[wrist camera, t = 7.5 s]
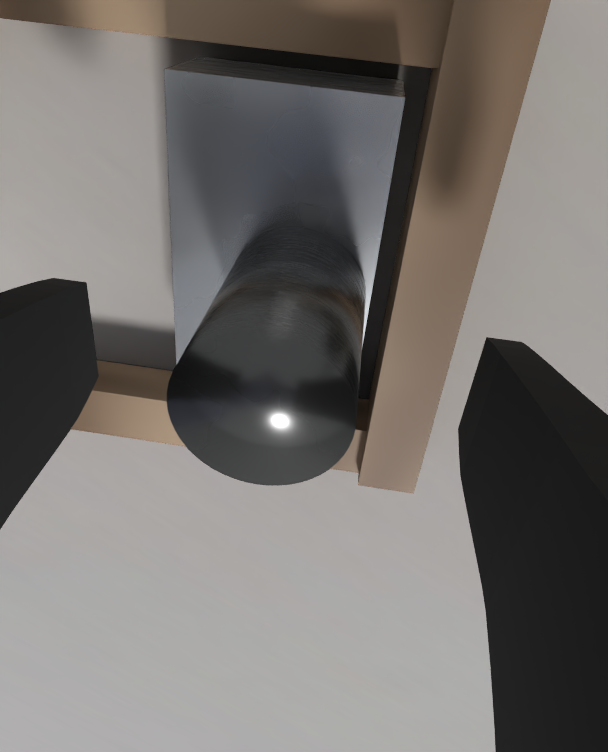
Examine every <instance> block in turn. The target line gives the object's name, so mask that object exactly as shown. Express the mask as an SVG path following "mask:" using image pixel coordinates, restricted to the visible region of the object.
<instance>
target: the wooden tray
mask: <svg viewBox="0 0 608 752" xmlns="http://www.w3.org/2000/svg"><path fill="white" fill-rule="evenodd" d="M550 1H551V0H0V18H4V19H12V20H21V21H30V22H38V23H47V24H56V25H64V26H73V27H81V28H90V29H99V30H107V31H116V32H125V33H133V34H142V35H151V36H159V37H168V38H177V39H185V40H194V41H203V42H211V43H220V44H228V45H237V46H246V47H254V48H263V49H272V50H280V51H289V52H298V53H306V54H315V55H324V56H332V57H341V58H350V59H358V60H367V61H375V62H384V63H393V64H401V65H410V66H419V67H427V68H432V71H431V76H430V81H429V86H428V91H427V97H426V102H425V107H424V112H423V118H422V123H421V128H420V133H419V139H418V144H417V149H416V154H415V159H414V165H413V170H412V175H411V180H410V186H409V191H408V196H407V201H406V207H405V212H404V217H403V222H402V227H401V233H400V238H399V243H398V248H397V254H396V259H395V264H394V269H393V274H392V280H391V285H390V290H389V295H388V301H387V306H386V311H385V316H384V322H383V327H382V332H381V337H380V342H379V348H378V353H377V358H376V363H375V369H374V374H373V379H372V384H371V389H370V395H369V400H367V399H360V398H358V406H357V419H356V429H355V433H354V437H353V440H352V442H351V444H350V446H349V448H348V450H347V451H346V453H345V454H344V456H343V457H342V458H341V459H340V460H339V461H338V462H337V463H336V464H335V465H334V466H333V467H331V468H330V469H336V470H342V471H349V472H355V473H359V476H358V485H361V486H368V487H374V488H381V489H387V490H394V491H400V492H407V493H413V494H414V490H415V487H416V483H417V479H418V476H419V472H420V469H421V465H422V462H423V458H424V454H425V451H426V447H427V444H428V440H429V436H430V433H431V429H432V426H433V422H434V418H435V415H436V411H437V408H438V404H439V400H440V397H441V393H442V390H443V386H444V382H445V379H446V375H447V372H448V368H449V364H450V361H451V357H452V354H453V350H454V346H455V343H456V339H457V336H458V332H459V329H460V325H461V321H462V318H463V314H464V311H465V307H466V303H467V300H468V296H469V293H470V289H471V285H472V282H473V278H474V275H475V271H476V267H477V264H478V260H479V257H480V253H481V249H482V246H483V242H484V239H485V235H486V231H487V228H488V224H489V221H490V217H491V214H492V210H493V206H494V203H495V199H496V196H497V192H498V188H499V185H500V181H501V178H502V174H503V170H504V167H505V163H506V160H507V156H508V152H509V149H510V145H511V142H512V138H513V134H514V131H515V127H516V124H517V120H518V116H519V113H520V109H521V106H522V102H523V99H524V95H525V91H526V88H527V84H528V81H529V77H530V73H531V70H532V66H533V63H534V59H535V55H536V52H537V48H538V45H539V41H540V37H541V34H542V30H543V27H544V23H545V19H546V16H547V12H548V9H549V5H550ZM97 367H98V374H99V377H98V379H97V381H96V383H95V385H94V388H93V390H92V392H91V394H90V396H89V398H88V400H87V402H86V404H85V406H84V408H83V410H82V412H81V414H80V415H79V417H78V419H77V421H76V422H75V424H74V425H73V427H72V428H71V429H73V430H80V431H87V432H93V433H100V434H106V435H113V436H119V437H126V438H132V439H139V440H146V441H152V442H159V443H165V444H172V445H178V446H185V444H184V443H183V442H182V441H181V439H180V438H179V436H178V435H177V433H176V431H175V429H174V427H173V425H172V423H171V420H170V417H169V413H168V408H167V388H168V383H169V380H170V377H171V374H172V372H173V371H168V370H161V369H154V368H148V367H141V366H134V365H127V364H120V363H113V362H107V361H100V360H97ZM185 447H186V446H185Z"/></svg>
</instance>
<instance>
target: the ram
mask: <svg viewBox="0 0 608 752" xmlns="http://www.w3.org/2000/svg"><path fill="white" fill-rule="evenodd" d="M164 81H165V105H166V128H167V152H168V176H169V200H170V224H171V248H172V272H173V296H174V320H175V344H176V367H175V368H174V370H173V372H172V374H171V377H170V380H169V383H168V388H167V408H168V413H169V417H170V420H171V423H172V425H173V427H174V429H175V431H176V433H177V435H178V436H179V438H180V439H181V441H182V442H183V443H184V444H185V446H186V447H187V448H188V449H189V450H190V451H191V452H192V453H193V454H194V455H195V456H196V457H197V458H199V459H200V460H201V461H202V462H203V463H205V464H206V465H208V466H210V467H211V468H213V469H214V470H216V471H218V472H220V473H222V474H224V475H227V476H229V477H232V478H234V479H237V480H241V481H244V482H248V483H253V484H260V485H288V484H294V483H299V482H303V481H306V480H309V479H312V478H314V477H316V476H319V475H321V474H322V473H324V472H326V471H327V470H329V469H330V468H331V467H333V466H334V465H335V464H336V463H337V462H338V461H339V460H340V459H341V458H342V457H343V456H344V454H345V453H346V451H347V450H348V448H349V446H350V444H351V442H352V440H353V437H354V433H355V429H356V419H357V406H358V393H359V380H360V367H361V354H362V346H363V340H364V334H365V329H366V323H367V317H368V311H369V305H370V300H371V294H372V288H373V282H374V276H375V271H376V265H377V259H378V253H379V247H380V242H381V236H382V230H383V224H384V219H385V213H386V207H387V201H388V195H389V190H390V184H391V178H392V172H393V166H394V161H395V155H396V149H397V143H398V137H399V132H400V126H401V120H402V114H403V108H404V103H405V92H404V85H403V80H395V79H386V78H377V77H369V76H360V75H352V74H343V73H335V72H326V71H318V70H309V69H301V68H292V67H284V66H275V65H266V64H258V63H249V62H241V61H232V60H224V59H215V58H207V57H198V58H195V59H192V60H189V61H186V62H183V63H180V64H177V65H174V66H171V67H169V68H166V69H164Z"/></svg>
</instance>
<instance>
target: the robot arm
mask: <svg viewBox="0 0 608 752" xmlns="http://www.w3.org/2000/svg"><path fill="white" fill-rule="evenodd" d="M98 377H99V374H98V367H97V359H96V352H95V344H94V336H93V329H92V321H91V314H90V306H89V299H88V291H87V284H86V282H78V281H71V280H64V279H56V278H52V279H47V280H42V281H38V282H34V283H30V284H27V285H23V286H20V287H17V288H14V289H11V290H8V291H5V292H2V293H0V529H1V528H2V526H3V524H4V523H5V521H6V520H7V518H8V517H9V515H10V514H11V512H12V511H13V509H14V508H15V507H16V505H17V504H18V502H19V501H20V500H21V498H22V497H23V495H24V494H25V493H26V491H27V490H28V488H29V487H30V486H31V484H32V483H33V481H34V480H35V479H36V477H37V476H38V475H39V473H40V472H41V470H42V469H43V468H44V466H45V465H46V463H47V462H48V461H49V459H50V458H51V456H52V455H53V454H54V452H55V451H56V449H57V448H58V447H59V445H60V444H61V442H62V441H63V439H64V438H65V437H66V435H67V434H68V432H69V431H70V429H71V428H72V427H73V425H74V424H75V422H76V421H77V419H78V417H79V415H80V414H81V412H82V410H83V408H84V406H85V404H86V402H87V400H88V398H89V396H90V394H91V392H92V390H93V388H94V385H95V383H96V381H97V379H98ZM458 433H459V458H460V475H461V481H462V486H463V492H464V497H465V502H466V508H467V513H468V518H469V523H470V528H471V533H472V538H473V543H474V548H475V553H476V558H477V563H478V568H479V573H480V578H481V583H482V589H483V596H484V602H485V609H486V619H487V630H488V642H489V654H490V665H491V680H492V695H493V710H494V725H495V745H496V752H608V415H607V414H606V413H605V412H603V411H602V410H601V409H600V408H599V407H597V406H596V405H595V404H594V403H593V402H592V401H590V400H589V399H588V398H587V397H586V396H585V395H583V394H582V393H581V392H580V391H579V390H578V389H577V388H575V387H574V386H573V385H572V384H571V383H570V382H569V381H568V380H566V379H565V378H564V377H563V376H562V375H561V374H560V373H559V372H557V371H556V370H555V369H554V368H553V367H552V366H551V365H550V364H548V363H547V362H546V361H545V360H544V359H543V358H542V357H540V356H539V355H538V354H537V353H536V352H535V351H533V350H532V349H531V348H529V347H528V346H527V345H525V344H524V343H522V342H517V341H510V340H502V339H495V338H488V337H487V338H486V341H485V344H484V347H483V351H482V354H481V357H480V360H479V364H478V367H477V370H476V373H475V376H474V380H473V383H472V386H471V389H470V392H469V396H468V399H467V402H466V405H465V409H464V412H463V415H462V418H461V421H460V425H459V428H458Z"/></svg>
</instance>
